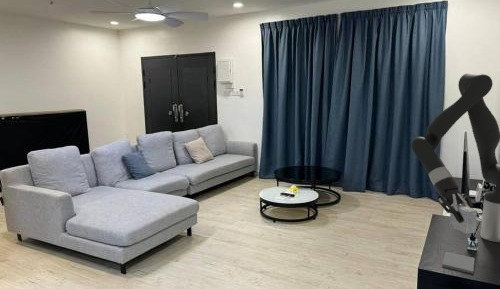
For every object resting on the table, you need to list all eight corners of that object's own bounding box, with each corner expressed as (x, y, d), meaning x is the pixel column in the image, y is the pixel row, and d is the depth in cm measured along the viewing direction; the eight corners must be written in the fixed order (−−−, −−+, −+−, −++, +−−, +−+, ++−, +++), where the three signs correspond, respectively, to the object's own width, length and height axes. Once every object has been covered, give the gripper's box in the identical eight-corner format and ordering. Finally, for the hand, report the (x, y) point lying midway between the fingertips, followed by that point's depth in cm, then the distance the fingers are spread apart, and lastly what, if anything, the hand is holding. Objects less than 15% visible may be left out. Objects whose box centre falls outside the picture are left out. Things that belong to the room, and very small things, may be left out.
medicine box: (475, 233, 133) (478, 210, 131) (465, 234, 132) (468, 212, 130) (458, 224, 140) (460, 203, 139) (448, 226, 139) (450, 204, 137)
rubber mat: (445, 253, 146) (445, 251, 146) (474, 260, 140) (474, 257, 140) (442, 266, 136) (442, 264, 136) (473, 274, 130) (473, 271, 130)
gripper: (435, 177, 137) (459, 219, 128) (463, 174, 142) (488, 214, 133) (423, 187, 143) (445, 227, 134) (450, 183, 148) (474, 222, 139)
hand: (467, 220), depth 133 cm, fingers closed on medicine box, 4 cm apart
